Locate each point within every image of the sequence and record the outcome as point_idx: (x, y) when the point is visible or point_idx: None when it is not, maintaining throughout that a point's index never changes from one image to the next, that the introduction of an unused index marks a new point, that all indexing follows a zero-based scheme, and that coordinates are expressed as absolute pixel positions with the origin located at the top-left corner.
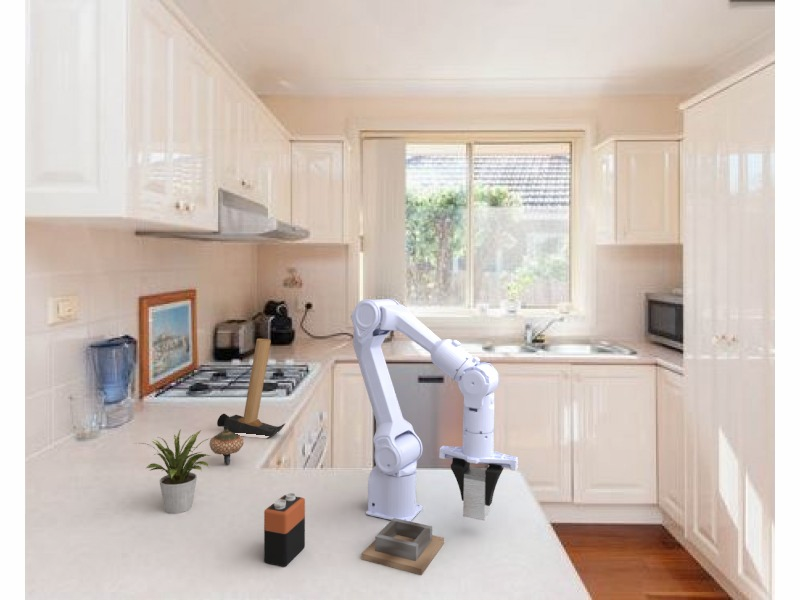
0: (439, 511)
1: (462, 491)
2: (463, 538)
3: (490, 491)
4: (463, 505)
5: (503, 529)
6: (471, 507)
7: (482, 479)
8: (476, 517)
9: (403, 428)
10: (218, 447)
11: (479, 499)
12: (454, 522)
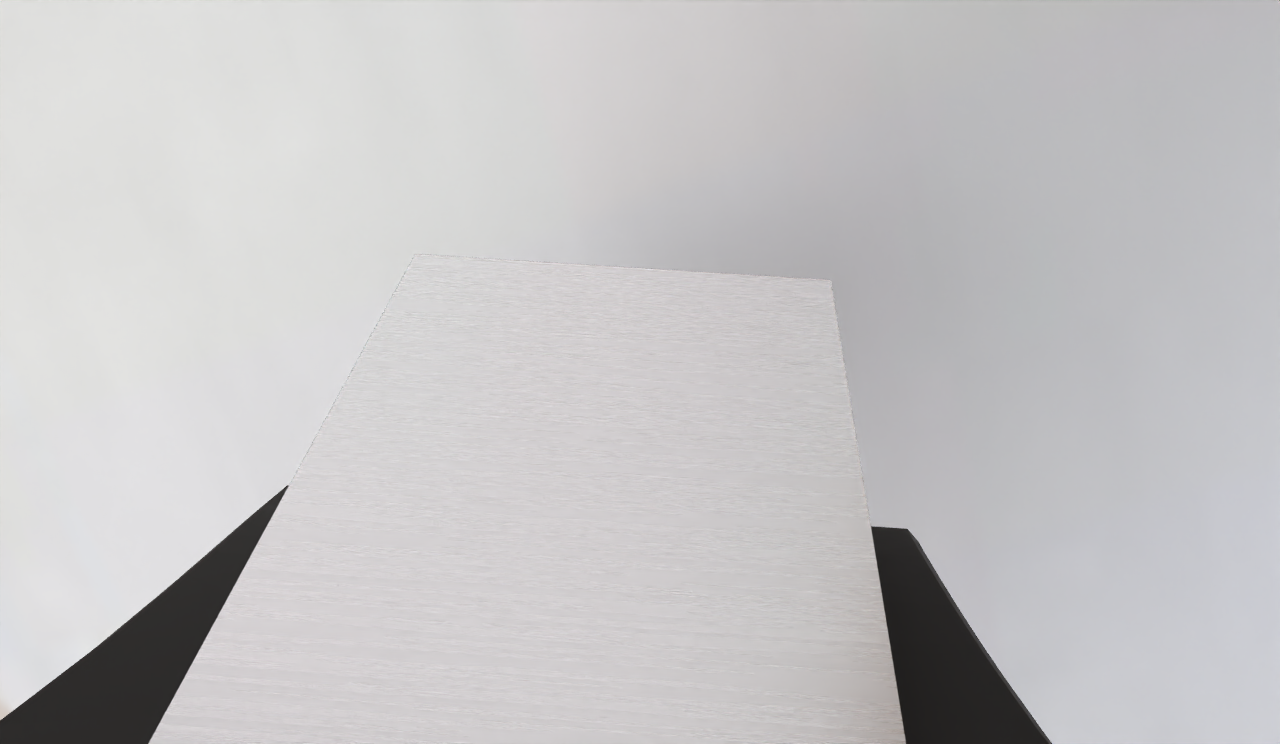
0: (1226, 660)
1: (929, 663)
2: (791, 114)
3: (50, 702)
4: (847, 397)
5: None
6: (655, 374)
7: None
8: (562, 277)
9: None
10: None
11: (431, 498)
12: (991, 476)
